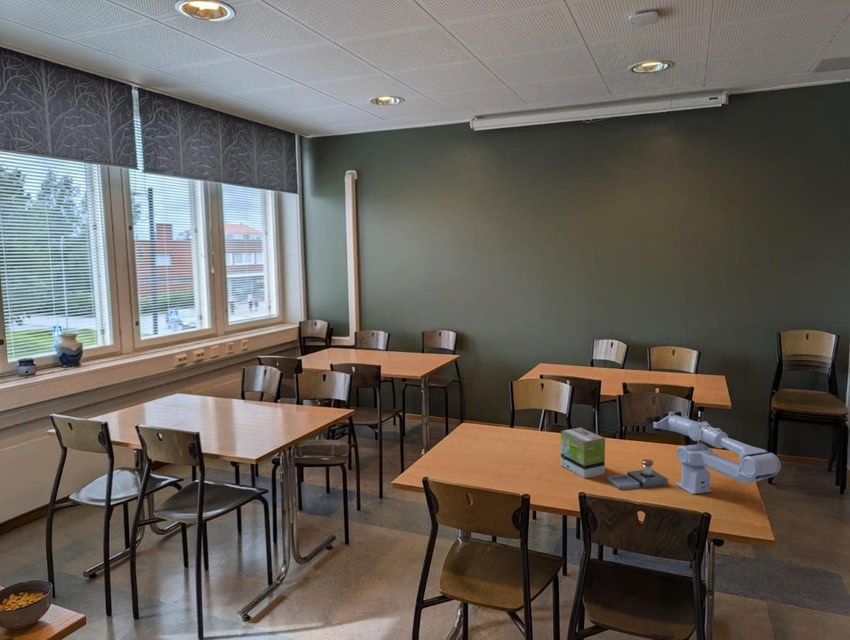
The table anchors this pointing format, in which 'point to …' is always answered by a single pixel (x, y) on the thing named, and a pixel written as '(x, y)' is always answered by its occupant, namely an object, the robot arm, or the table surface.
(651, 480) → the hitch block
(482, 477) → the table surface
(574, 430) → the tea box
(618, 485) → the tray
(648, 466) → the pin
